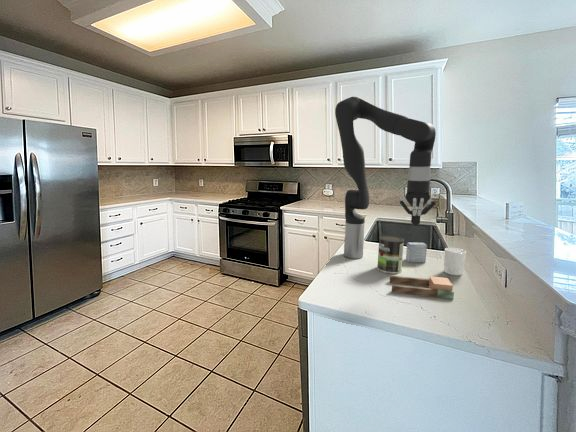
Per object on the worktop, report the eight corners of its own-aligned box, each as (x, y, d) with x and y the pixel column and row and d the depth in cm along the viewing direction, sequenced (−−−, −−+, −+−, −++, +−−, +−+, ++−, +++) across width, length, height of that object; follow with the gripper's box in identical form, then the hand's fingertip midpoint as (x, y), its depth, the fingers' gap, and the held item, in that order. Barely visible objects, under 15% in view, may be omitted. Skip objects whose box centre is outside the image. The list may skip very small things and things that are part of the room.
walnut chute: (391, 292, 104) (392, 285, 103) (389, 281, 113) (389, 275, 113) (453, 299, 99) (454, 292, 98) (445, 286, 108) (446, 280, 108)
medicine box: (422, 259, 139) (423, 242, 138) (425, 262, 135) (427, 245, 133) (405, 259, 140) (406, 242, 138) (408, 262, 135) (409, 244, 134)
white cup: (438, 269, 126) (440, 247, 124) (455, 269, 127) (458, 247, 125) (450, 276, 118) (452, 253, 117) (468, 275, 119) (470, 252, 117)
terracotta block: (432, 294, 102) (434, 283, 101) (428, 286, 108) (429, 276, 108) (451, 296, 100) (452, 285, 99) (446, 288, 107) (447, 278, 106)
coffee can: (388, 275, 120) (390, 242, 117) (372, 267, 129) (373, 236, 126) (407, 271, 124) (409, 240, 121) (390, 264, 133) (392, 234, 130)
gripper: (401, 179, 103) (398, 226, 106) (441, 180, 100) (437, 228, 103) (398, 178, 110) (395, 222, 113) (435, 178, 107) (431, 223, 111)
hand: (415, 225), depth 108 cm, fingers closed
